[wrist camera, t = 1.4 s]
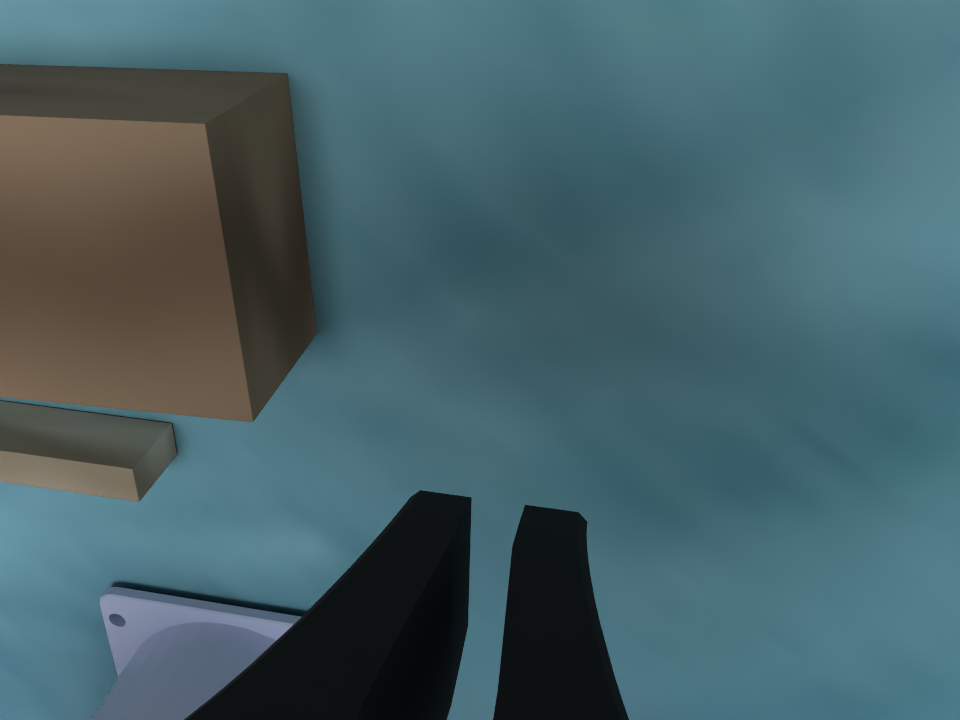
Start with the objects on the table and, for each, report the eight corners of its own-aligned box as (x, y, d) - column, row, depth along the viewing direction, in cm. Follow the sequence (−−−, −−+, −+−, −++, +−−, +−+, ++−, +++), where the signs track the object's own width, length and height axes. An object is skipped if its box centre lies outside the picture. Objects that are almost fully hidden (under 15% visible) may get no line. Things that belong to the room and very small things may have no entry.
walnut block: (319, 329, 22) (253, 422, 18) (53, 308, 23) (-56, 391, 19) (291, 71, 19) (204, 123, 15) (-14, 61, 20) (-158, 108, 16)
